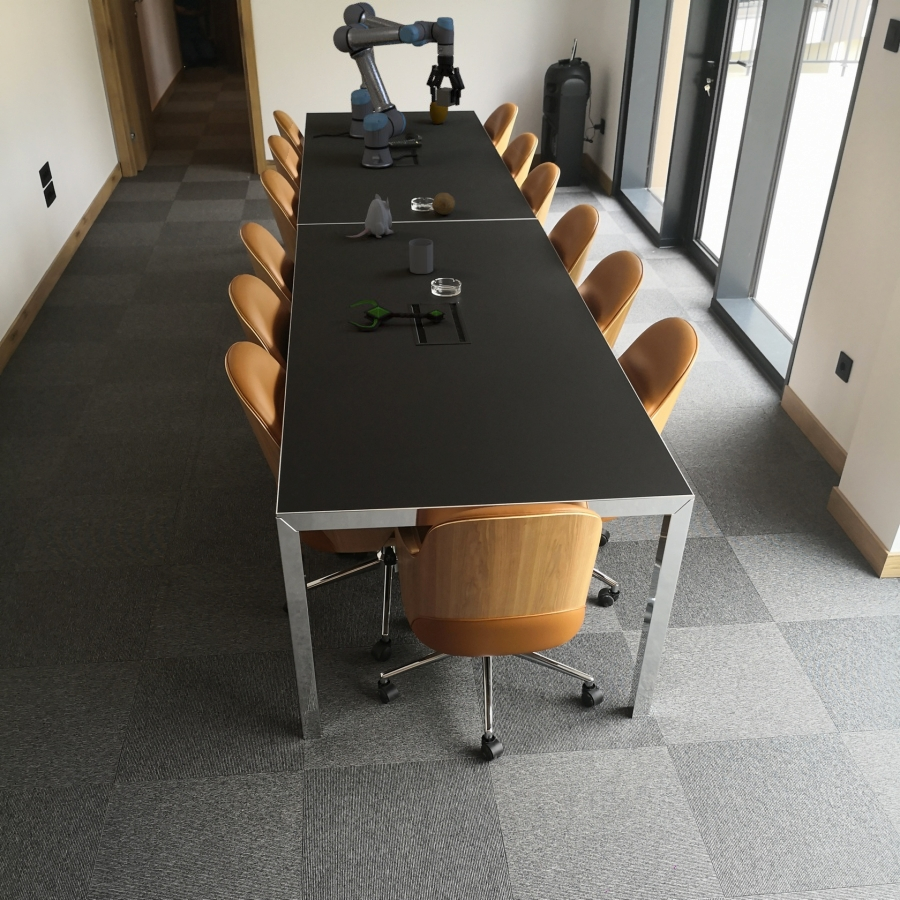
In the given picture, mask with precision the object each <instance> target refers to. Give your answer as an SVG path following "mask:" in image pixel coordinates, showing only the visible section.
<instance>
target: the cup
mask: <svg viewBox="0 0 900 900" xmlns="http://www.w3.org/2000/svg"><path fill="white" fill-rule="evenodd" d="M408 253H409V272H411V273H412V274H416V275H426V274H430V273H432V272H434V241H433V240H431V239H428V238H422V237H421V238H420V237H419V238H414V239H411V240H410V241H409V242H408Z"/></svg>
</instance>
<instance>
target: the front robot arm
mask: <svg viewBox="0 0 900 900" xmlns="http://www.w3.org/2000/svg"><path fill="white" fill-rule="evenodd" d="M453 35H454V36H455V25H454V19H453V18H452V17H450V16H440V17H437V19H436V21H429V20H428V21H427V20H416V21H414V22H413V23H411V24H403V25H401V26H391V27H380V28H370V29H369V28H368V27H367V26H366V25H364V24H362V23H354V24H350V25H346V24H345V25H341V26H339V27H337V28H336V29H335V31H334V33H333V36H332V41H333V45H334V47H335V48H336V49H337V50H338V51H339V52H340V53H342V54H343V53H345V54H347V53H348V54H349V56H350V59H351V60H354V61H355V64H356V66H357V68H358V71H359V73H360V77H361V76H362V78H363V81H364V83H365V86H366V88H367V91H368V93H369V96H370V98H371V101H372V103H373V106H374V108H375V111H374V112H373V114H369V115H367V116H366V117H365V118H364V124H363V127H364V139H363V140H364V151H363V155H362V159H361V166H362V167H363V168H366V169H371V170H381V169H387V168H390V167H392V166H394V161H398V160H401V159H402V158H407V157H418V153H411V154H410V153H409V154H402V155H400V156H398V157H392V155H391V152H390V151H391V150H390V147H389V145H390V144H389V140H390V139H392V138H393V139H394V138H396V137H398V136H400V135H401V134H402V133H403V132H404V131H405V129H406V125H407V123H406V122H407V121H406V116H405V115H404V113H403V112H402V111H400V110H398V108H397V106H396V104H395V103H392V102H391V99H390V97H389V94H388V92H387V89H386V87H385V84H384V80H383V78H382V77H381V74H380V71H379V69H378V66H377V64H376V60H375V61H374V58H373V56H372V50H373V48H374V47H381V46H392V45H402V44H403V45H405V44H406V45H412V44H413V43H415V42H418V41H423V40H437V43H436V49H437V50H436V53H437V56H436V62H437V63H436V64H433V65H431V70H430V73H429V75H428V78H427V81H426V84H425V85H426V86H427V87H429V94H430V96H431V99H430V100H431V101H430V103H431V102H436V89H437V88H436V87H435V84H436V83H437V82H438V80H439V79H440V77H441V76H442V77H443V76H444V77H445V78H448V79H449V78H450V80H451V81H452V83H453V85H454V86H455V88H456V91H455V105H454V106H455V107H457V106H460V105H461V104H460V103H461V98H462V90H465V89H466V87H465V84H464V81H463V79H462V76H461V73H460V67H459V66H456V67H454V64H455V63H454V62H455V57H454V56H455V44H454V45H453ZM372 46H373V47H372ZM452 54H454V55H452ZM453 63H454V64H453ZM453 67H454V68H453ZM437 69H438V71H439V72H438V73H437V75H436V77H435V78H434V76H435V73H436V70H437ZM454 73H455V75H454ZM455 76H456V78H455ZM362 78H361V79H362ZM456 79H457V80H456ZM450 80H449V81H450Z"/></svg>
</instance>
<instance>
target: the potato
mask: <svg viewBox="0 0 900 900" xmlns="http://www.w3.org/2000/svg"><path fill="white" fill-rule="evenodd" d="M455 206H456V200H455V198H454V196H452V195H451V194H449V193H448V192H439V193H437V194H436V195H435V197H434V198H433V200H432V201H431V207H432V209H433V210H434V212H436V213H437V214H439V215H441V216H442V215H449V214H450V213H452V212H453V211H454V209H455Z"/></svg>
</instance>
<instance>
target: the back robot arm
mask: <svg viewBox="0 0 900 900" xmlns="http://www.w3.org/2000/svg"><path fill="white" fill-rule="evenodd" d="M342 18H343V21H344V24H345V25H350V24H354V23H362V24H364V25H366V26H367V27H368V28H369V29H370V28H380V27H391V26H401V25H404V24H403V23H400V22H397V21H393V20H389V19H385V18H382V17H379V16H376V11H375V9H374V7H373V6H372V4H370V3H368V2H364V1H363V2H362V1H359V2H356V3H352V4H349V5H347V7H345V9H344V11H343V15H342ZM430 43H431V44H437V40H423V41H418V42H415V43H413V44H411V45H412V46H413V47H416V48H420V47H423V46H425V45H427V44H430ZM453 45H454V46H455V34H454V35H453ZM372 47H373V50H372V56H373V58H374V61H375V62H376V58H375V57H376V56H375V50H374V46H372ZM452 55H453V56H455V53H454V54H452ZM454 64H455V63H453V65H454ZM453 68H455V67H454V66H453ZM438 72H439V71H438V69H437V70H436V73H435V76H434V78H435V77H436V75H437V73H438ZM453 74H454V75H455V73H454V72H453ZM360 77H361V84H360V86H359V89H354V90H353V91H352V92H351V93H350V108H351V109H350V110H351V125H350V127H349V128H350V129H349V131H345V132H340V133H335V134H334V133H332V134H331V133H322V134H316V135H313V138H314V139H315V138H319V137H338V136H343V135H349V137H350V138H353V139H357V140H358V139H359V140H364V127H363V124H364V118H365V117H366V116H367V115H369V114H374V112H375V108H374V106H373V103H372V101H371V98H370V96H369V93H368V91H367V88H366V86H365V83H364V81H363V78H362V76H361V75H360ZM444 77H445V76H443V77H442V76H441V77H440V79H439V80H438V82H437V83H436V84H435V86H434V87H436V89H440V88H442V83H443V81H444ZM434 78H433V79H434ZM455 78H456V76H455ZM448 79H449V83H450V86H451V88H452V90H451V103H454V102H455V91H456V88H455V86H454V85H453V83H452V81H451V80H450V78H448ZM456 80H457V79H456Z"/></svg>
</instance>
